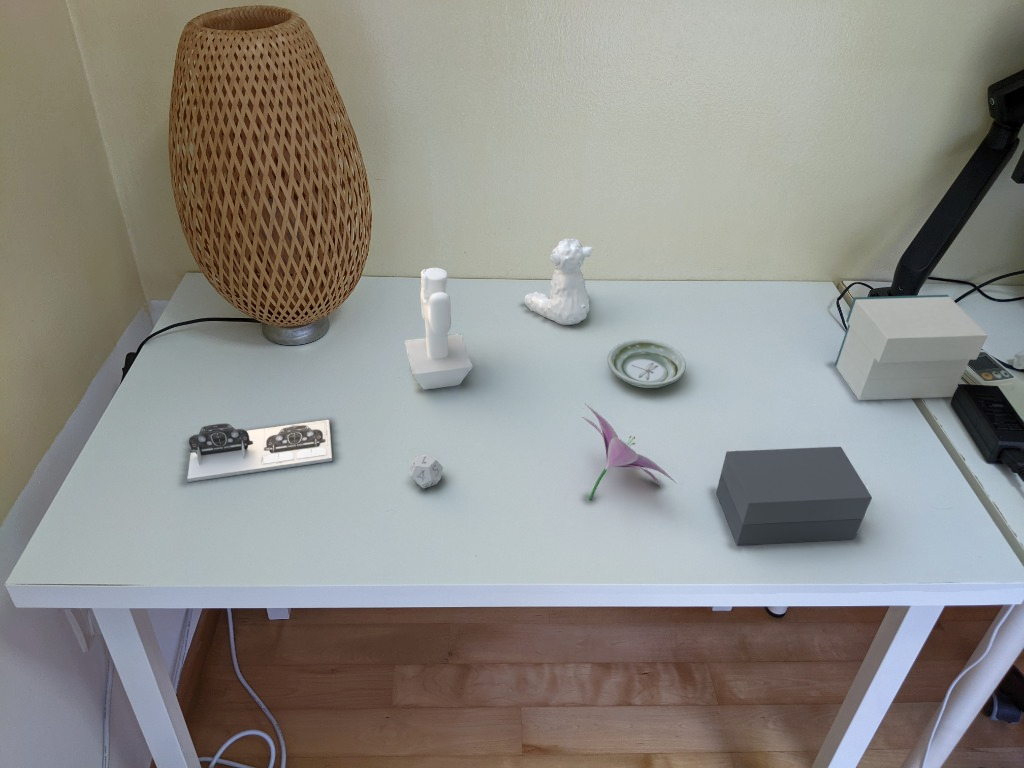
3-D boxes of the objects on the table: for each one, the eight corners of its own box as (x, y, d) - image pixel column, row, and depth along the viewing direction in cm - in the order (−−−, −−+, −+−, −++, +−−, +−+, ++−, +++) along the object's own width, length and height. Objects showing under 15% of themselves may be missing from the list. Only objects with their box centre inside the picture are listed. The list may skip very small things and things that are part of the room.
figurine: (460, 352, 101) (457, 249, 92) (474, 395, 94) (473, 289, 85) (404, 359, 100) (396, 255, 91) (415, 404, 93) (407, 296, 83)
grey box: (825, 487, 83) (841, 446, 79) (854, 539, 77) (872, 497, 73) (715, 492, 82) (726, 451, 78) (736, 545, 76) (749, 503, 72)
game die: (446, 471, 84) (445, 451, 82) (437, 495, 81) (436, 475, 79) (415, 466, 84) (413, 446, 82) (405, 491, 81) (403, 470, 79)
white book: (937, 318, 98) (947, 294, 96) (976, 359, 91) (988, 335, 89) (845, 321, 97) (853, 297, 95) (878, 363, 90) (887, 338, 88)
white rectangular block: (923, 362, 101) (940, 321, 97) (952, 397, 95) (972, 354, 92) (834, 365, 100) (848, 323, 96) (858, 400, 95) (874, 358, 91)
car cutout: (188, 481, 82) (177, 450, 79) (193, 440, 87) (183, 410, 84) (332, 460, 85) (327, 429, 82) (329, 422, 90) (324, 391, 87)
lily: (671, 539, 78) (709, 454, 76) (567, 515, 74) (604, 425, 72) (627, 486, 89) (659, 411, 87) (534, 463, 85) (566, 384, 83)
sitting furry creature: (582, 292, 114) (588, 217, 106) (609, 323, 107) (617, 245, 100) (522, 304, 111) (524, 228, 104) (546, 336, 105) (550, 257, 97)
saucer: (616, 347, 103) (618, 331, 101) (689, 362, 100) (692, 347, 99) (597, 388, 96) (598, 373, 94) (674, 406, 93) (677, 391, 92)
